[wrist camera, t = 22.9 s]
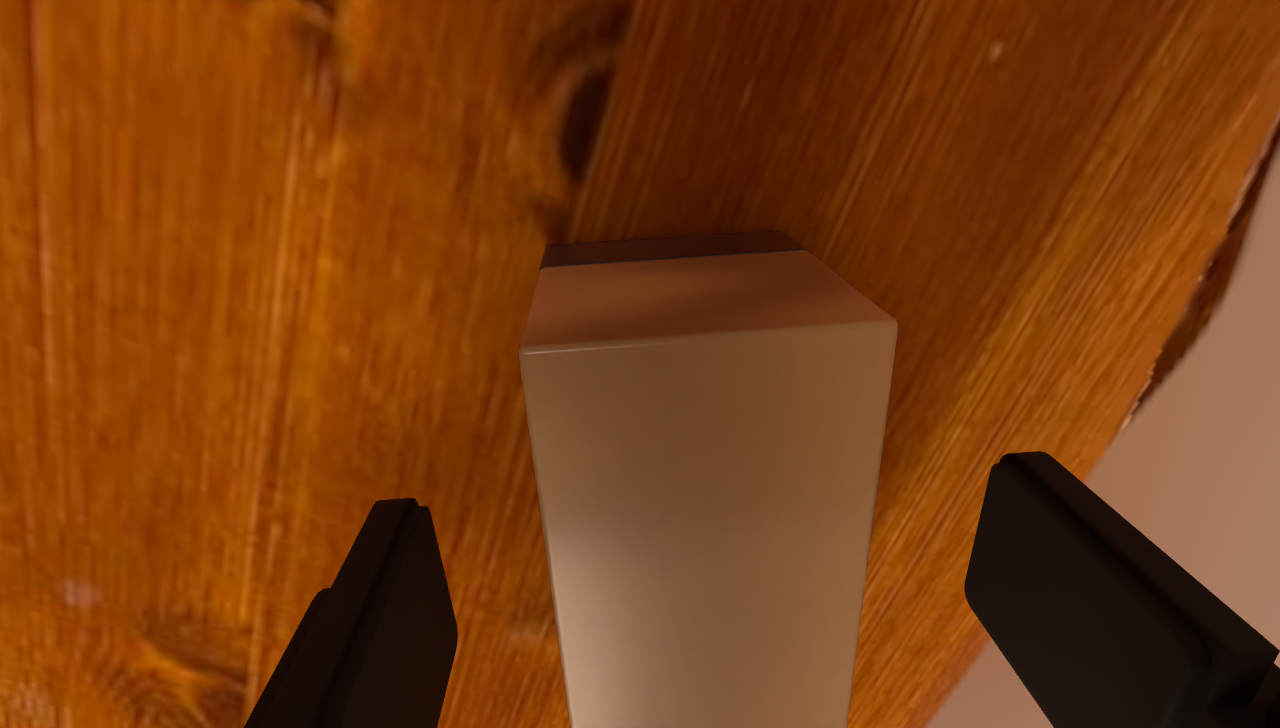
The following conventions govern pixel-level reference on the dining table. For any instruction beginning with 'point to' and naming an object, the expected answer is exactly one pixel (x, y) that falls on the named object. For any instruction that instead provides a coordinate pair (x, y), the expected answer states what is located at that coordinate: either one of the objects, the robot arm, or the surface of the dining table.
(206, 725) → the dining table surface
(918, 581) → the dining table surface
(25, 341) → the dining table surface
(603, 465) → the eraser
